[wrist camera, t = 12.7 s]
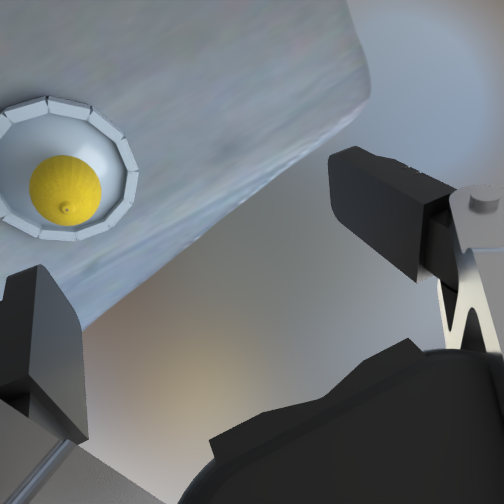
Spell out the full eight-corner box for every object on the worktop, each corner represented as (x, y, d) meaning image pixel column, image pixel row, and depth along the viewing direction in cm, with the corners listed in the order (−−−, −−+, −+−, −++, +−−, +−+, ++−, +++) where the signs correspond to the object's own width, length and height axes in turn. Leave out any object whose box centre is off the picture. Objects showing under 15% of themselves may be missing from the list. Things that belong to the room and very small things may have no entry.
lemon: (30, 140, 33) (24, 171, 27) (99, 148, 36) (107, 179, 30) (32, 199, 36) (26, 240, 30) (96, 203, 38) (103, 242, 32)
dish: (-56, 125, 31) (-62, 131, 30) (101, 79, 34) (103, 82, 33) (29, 250, 39) (28, 259, 38) (152, 204, 42) (155, 212, 40)
